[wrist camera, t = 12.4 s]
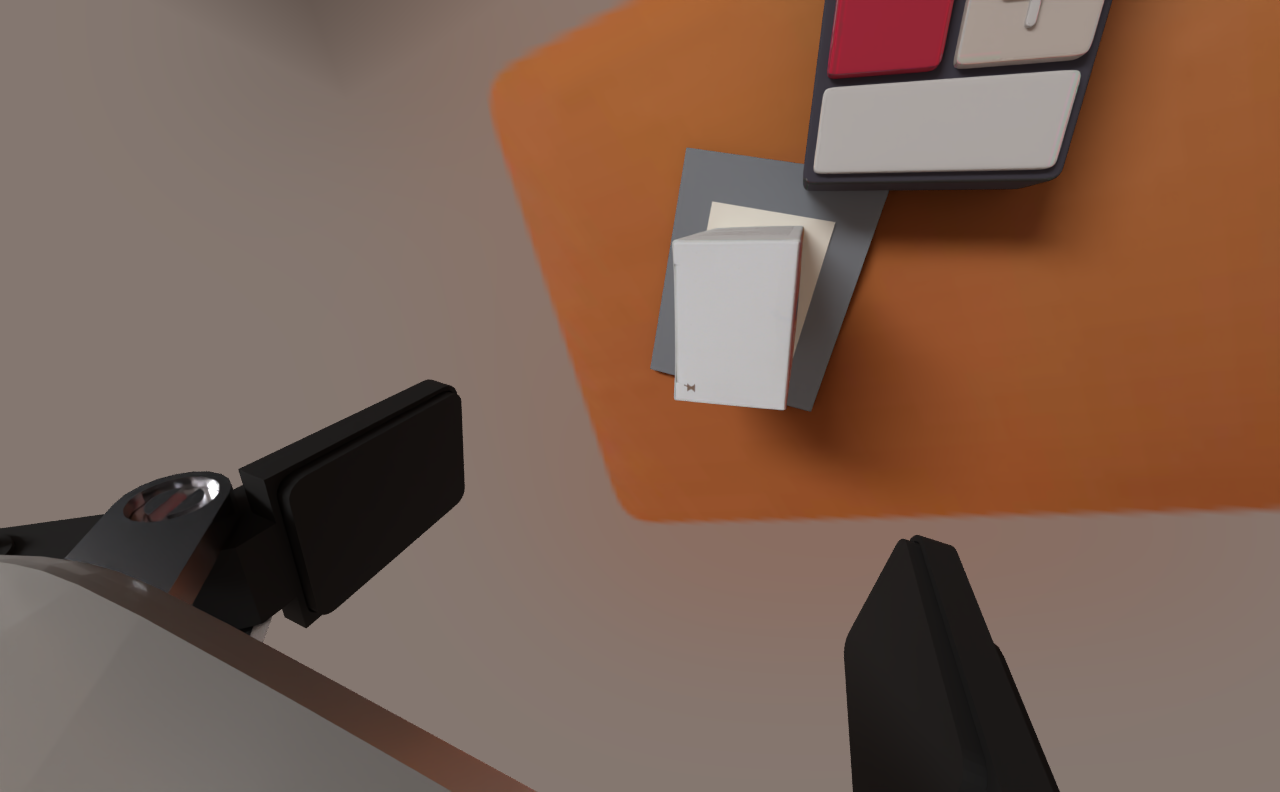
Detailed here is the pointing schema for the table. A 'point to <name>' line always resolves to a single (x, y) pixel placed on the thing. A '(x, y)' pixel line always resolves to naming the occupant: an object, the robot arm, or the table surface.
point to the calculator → (948, 92)
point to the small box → (736, 314)
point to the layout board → (777, 197)
